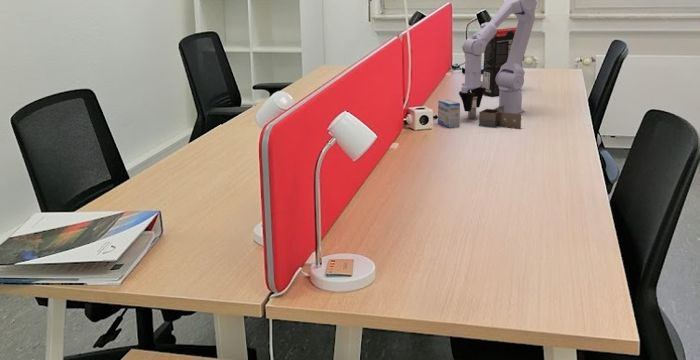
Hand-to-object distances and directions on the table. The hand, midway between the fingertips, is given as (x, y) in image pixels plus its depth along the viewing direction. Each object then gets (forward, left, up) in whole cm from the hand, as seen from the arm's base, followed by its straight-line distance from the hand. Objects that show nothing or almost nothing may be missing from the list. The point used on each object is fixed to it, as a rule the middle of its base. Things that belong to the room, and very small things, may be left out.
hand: (472, 109), depth 280 cm
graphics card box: (-49, -9, -4) cm, 50 cm away
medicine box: (+13, -3, -4) cm, 14 cm away
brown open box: (+6, +14, -4) cm, 16 cm away
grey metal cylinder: (0, 0, -4) cm, 4 cm away
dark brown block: (+2, +10, -4) cm, 11 cm away
